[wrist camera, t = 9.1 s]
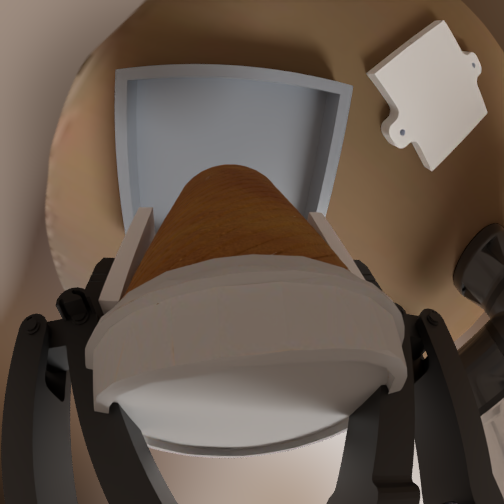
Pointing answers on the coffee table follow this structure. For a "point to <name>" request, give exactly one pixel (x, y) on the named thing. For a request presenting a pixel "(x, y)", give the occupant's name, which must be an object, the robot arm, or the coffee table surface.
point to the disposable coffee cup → (243, 328)
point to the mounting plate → (430, 93)
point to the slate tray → (226, 131)
